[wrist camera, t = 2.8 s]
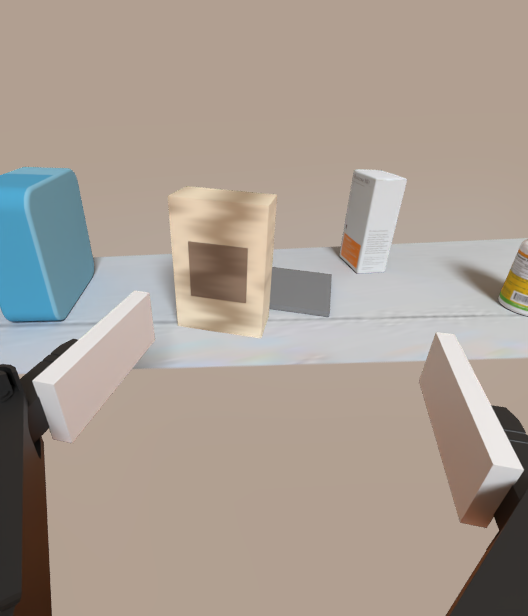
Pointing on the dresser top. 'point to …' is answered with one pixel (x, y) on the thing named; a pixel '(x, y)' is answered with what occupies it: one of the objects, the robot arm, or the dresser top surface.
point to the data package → (42, 244)
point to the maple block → (222, 258)
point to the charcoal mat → (300, 291)
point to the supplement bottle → (517, 283)
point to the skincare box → (371, 219)
